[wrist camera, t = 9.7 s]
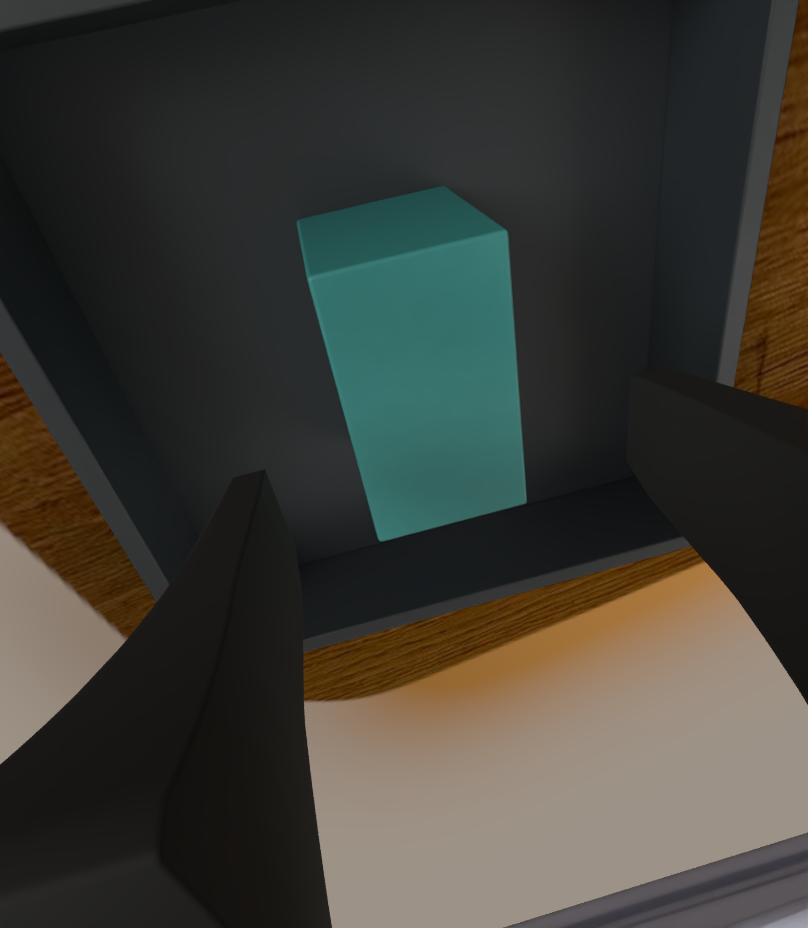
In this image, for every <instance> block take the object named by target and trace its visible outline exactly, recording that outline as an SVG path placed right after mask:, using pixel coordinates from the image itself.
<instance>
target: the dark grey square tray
mask: <svg viewBox="0 0 808 928" xmlns="http://www.w3.org/2000/svg"><path fill="white" fill-rule="evenodd" d="M798 4H799V0H0V352H1V354H2V355H3V357H4V359H5V360H6V362H7V363H8V365H9V367H10V368H11V370H12V371H13V373H14V375H15V376H16V378H17V379H18V381H19V383H20V384H21V386H22V387H23V389H24V391H25V392H26V394H27V395H28V397H29V399H30V400H31V402H32V403H33V405H34V407H35V408H36V410H37V411H38V413H39V415H40V416H41V418H42V419H43V421H44V423H45V424H46V426H47V427H48V429H49V431H50V432H51V434H52V436H53V437H54V439H55V440H56V442H57V444H58V445H59V447H60V448H61V450H62V452H63V453H64V455H65V456H66V458H67V460H68V461H69V463H70V464H71V466H72V468H73V469H74V471H75V472H76V474H77V476H78V477H79V479H80V480H81V482H82V484H83V485H84V487H85V488H86V490H87V492H88V493H89V495H90V496H91V498H92V500H93V501H94V503H95V504H96V506H97V508H98V509H99V511H100V512H101V514H102V516H103V517H104V519H105V520H106V522H107V524H108V525H109V527H110V528H111V530H112V532H113V533H114V535H115V537H116V538H117V540H118V541H119V543H120V545H121V546H122V548H123V549H124V551H125V553H126V554H127V556H128V557H129V559H130V561H131V562H132V564H133V565H134V567H135V569H136V570H137V572H138V573H139V575H140V577H141V578H142V580H143V581H144V583H145V585H146V586H147V588H148V589H149V591H150V593H151V594H152V596H153V597H154V599H155V601H156V602H157V601H158V600H159V599H160V597H161V596H162V595H163V593H164V592H165V590H166V589H167V587H168V586H169V584H170V583H171V581H172V580H173V578H174V577H175V575H176V574H177V572H178V571H179V569H180V568H181V566H182V565H183V563H184V562H185V560H186V559H187V557H188V555H189V554H190V552H191V550H192V549H193V547H194V545H195V544H196V542H197V540H198V538H199V537H200V535H201V533H202V532H203V530H204V528H205V527H206V525H207V523H208V521H209V519H210V518H211V516H212V514H213V512H214V510H215V509H216V507H217V505H218V503H219V501H220V499H221V498H222V496H223V494H224V492H225V490H226V489H227V487H228V485H229V483H230V482H231V480H232V479H233V477H237V476H241V475H245V474H249V473H253V472H257V471H260V470H264V469H265V470H266V473H267V475H268V478H269V480H270V483H271V486H272V488H273V491H274V493H275V496H276V498H277V501H278V504H279V506H280V509H281V511H282V514H283V517H284V519H285V522H286V524H287V527H288V529H289V532H290V535H291V537H292V540H293V542H294V545H295V547H296V553H297V559H298V566H299V573H300V580H301V588H302V601H303V652H307V651H310V650H314V649H318V648H321V647H325V646H329V645H332V644H336V643H340V642H343V641H347V640H351V639H354V638H358V637H362V636H365V635H369V634H373V633H376V632H380V631H384V630H387V629H391V628H394V627H398V626H402V625H405V624H409V623H413V622H416V621H420V620H424V619H427V618H431V617H435V616H438V615H442V614H446V613H449V612H453V611H457V610H460V609H464V608H468V607H471V606H475V605H479V604H482V603H486V602H490V601H493V600H497V599H500V598H504V597H508V596H511V595H515V594H519V593H522V592H526V591H530V590H533V589H537V588H541V587H544V586H548V585H552V584H555V583H559V582H563V581H566V580H570V579H574V578H577V577H581V576H585V575H588V574H592V573H596V572H599V571H603V570H606V569H610V568H614V567H617V566H621V565H625V564H628V563H632V562H636V561H639V560H643V559H647V558H650V557H654V556H658V555H661V554H665V553H669V552H672V551H676V550H680V549H683V548H687V547H690V546H691V545H690V544H689V543H688V541H687V540H686V539H685V538H684V537H683V536H682V535H681V534H680V532H679V531H678V530H677V529H676V528H675V527H674V526H673V524H672V523H671V522H670V521H669V520H668V519H667V517H666V516H665V515H664V514H663V513H662V512H661V510H660V509H659V508H658V507H657V506H656V504H655V503H654V502H653V501H652V500H651V498H650V497H649V495H648V494H647V492H646V491H645V489H644V488H643V486H642V485H641V483H640V482H639V480H638V479H637V477H636V475H635V474H634V472H633V470H632V469H631V467H630V465H629V464H628V462H627V461H626V457H627V439H628V421H629V402H630V384H631V375H633V374H637V373H640V372H644V371H648V370H652V369H656V368H660V367H662V368H667V369H672V370H676V371H680V372H684V373H687V374H691V375H694V376H698V377H701V378H704V379H708V380H711V381H714V382H717V383H721V384H724V385H727V386H730V387H733V388H734V382H735V376H736V370H737V364H738V358H739V352H740V346H741V340H742V334H743V329H744V323H745V317H746V311H747V305H748V299H749V293H750V287H751V281H752V276H753V270H754V264H755V258H756V252H757V246H758V240H759V234H760V228H761V222H762V217H763V211H764V205H765V199H766V193H767V187H768V181H769V175H770V169H771V164H772V158H773V152H774V146H775V140H776V134H777V128H778V122H779V116H780V110H781V105H782V99H783V93H784V87H785V81H786V75H787V69H788V63H789V57H790V52H791V46H792V40H793V34H794V28H795V22H796V16H797V10H798ZM440 186H446V187H447V188H449V189H450V190H451V191H453V192H454V193H456V194H457V195H459V196H460V197H461V198H463V199H464V200H466V201H467V202H468V203H470V204H471V205H473V206H474V207H475V208H477V209H478V210H480V211H481V212H483V213H484V214H485V215H487V216H488V217H490V218H491V219H492V220H494V221H495V222H497V223H498V224H499V225H501V226H502V227H504V228H505V229H507V231H508V238H509V252H510V266H511V281H512V295H513V309H514V324H515V338H516V352H517V367H518V381H519V395H520V410H521V424H522V438H523V453H524V467H525V481H526V496H527V502H526V503H525V504H522V505H518V506H514V507H511V508H507V509H503V510H499V511H496V512H492V513H488V514H484V515H480V516H477V517H473V518H469V519H465V520H462V521H458V522H454V523H450V524H446V525H443V526H439V527H435V528H431V529H428V530H424V531H420V532H416V533H413V534H409V535H405V536H401V537H397V538H394V539H390V540H386V541H380V540H379V539H378V537H377V533H376V530H375V526H374V522H373V519H372V515H371V511H370V508H369V504H368V500H367V497H366V493H365V489H364V486H363V482H362V478H361V475H360V471H359V467H358V464H357V460H356V456H355V453H354V449H353V445H352V442H351V438H350V434H349V431H348V427H347V423H346V420H345V416H344V413H343V409H342V405H341V402H340V398H339V394H338V391H337V387H336V383H335V380H334V376H333V372H332V369H331V365H330V361H329V358H328V354H327V350H326V347H325V343H324V339H323V336H322V332H321V328H320V325H319V321H318V317H317V314H316V310H315V306H314V303H313V299H312V295H311V292H310V288H309V284H308V281H307V276H306V270H305V265H304V260H303V255H302V249H301V244H300V239H299V234H298V228H297V221H298V220H299V219H302V218H307V217H311V216H315V215H320V214H324V213H328V212H332V211H337V210H341V209H345V208H350V207H354V206H358V205H363V204H367V203H371V202H375V201H380V200H384V199H388V198H393V197H397V196H401V195H406V194H410V193H414V192H418V191H423V190H427V189H431V188H436V187H440Z"/></svg>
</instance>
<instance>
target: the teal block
mask: <svg viewBox="0 0 808 928" xmlns="http://www.w3.org/2000/svg"><path fill="white" fill-rule="evenodd" d="M297 228H298V234H299V239H300V244H301V249H302V255H303V260H304V265H305V270H306V276H307V281H308V284H309V288H310V292H311V295H312V299H313V303H314V306H315V310H316V314H317V317H318V321H319V325H320V328H321V332H322V336H323V339H324V343H325V347H326V350H327V354H328V358H329V361H330V365H331V369H332V372H333V376H334V380H335V383H336V387H337V391H338V394H339V398H340V402H341V405H342V409H343V413H344V416H345V420H346V423H347V427H348V431H349V434H350V438H351V442H352V445H353V449H354V453H355V456H356V460H357V464H358V467H359V471H360V475H361V478H362V482H363V486H364V489H365V493H366V497H367V500H368V504H369V508H370V511H371V515H372V519H373V522H374V526H375V530H376V533H377V537H378V539H379V540H380V541H386V540H390V539H394V538H397V537H401V536H405V535H409V534H413V533H416V532H420V531H424V530H428V529H431V528H435V527H439V526H443V525H446V524H450V523H454V522H458V521H462V520H465V519H469V518H473V517H477V516H480V515H484V514H488V513H492V512H496V511H499V510H503V509H507V508H511V507H514V506H518V505H522V504H525V503H526V502H527V496H526V481H525V467H524V453H523V438H522V424H521V410H520V395H519V381H518V367H517V352H516V338H515V324H514V309H513V295H512V281H511V266H510V252H509V238H508V231H507V229H505V228H504V227H502V226H501V225H499V224H498V223H497V222H495V221H494V220H492V219H491V218H490V217H488V216H487V215H485V214H484V213H483V212H481V211H480V210H478V209H477V208H475V207H474V206H473V205H471V204H470V203H468V202H467V201H466V200H464V199H463V198H461V197H460V196H459V195H457V194H456V193H454V192H453V191H451V190H450V189H449V188H447V187H446V186H440V187H436V188H431V189H427V190H423V191H418V192H414V193H410V194H406V195H401V196H397V197H393V198H388V199H384V200H380V201H375V202H371V203H367V204H363V205H358V206H354V207H350V208H345V209H341V210H337V211H332V212H328V213H324V214H320V215H315V216H311V217H307V218H302V219H299V220H298V221H297Z"/></svg>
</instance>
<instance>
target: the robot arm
mask: <svg viewBox="0 0 808 928" xmlns="http://www.w3.org/2000/svg"><path fill="white" fill-rule="evenodd" d="M626 461H627V462H628V464H629V465H630V467H631V469H632V470H633V472H634V474H635V475H636V477H637V479H638V480H639V482H640V483H641V485H642V486H643V488H644V489H645V491H646V492H647V494H648V495H649V497H650V498H651V500H652V501H653V502H654V503H655V504H656V506H657V507H658V508H659V509H660V510H661V512H662V513H663V514H664V515H665V516H666V517H667V519H668V520H669V521H670V522H671V523H672V524H673V526H674V527H675V528H676V529H677V530H678V531H679V532H680V534H681V535H682V536H683V537H684V538H685V539H686V540H687V541H688V543H689V544H690V545H691V546H692V547H693V548H694V549H695V551H696V552H697V553H698V554H699V555H700V556H701V557H702V558H703V560H704V561H705V562H706V563H707V564H708V565H709V566H710V568H711V569H712V570H713V571H714V572H715V573H716V574H717V575H718V577H719V578H720V579H721V580H722V581H723V582H724V584H725V585H726V586H727V587H728V589H729V590H730V591H731V592H732V593H733V595H734V596H735V597H736V599H737V600H738V601H739V603H740V604H741V605H742V607H743V608H744V610H745V611H746V612H747V614H748V615H749V617H750V618H751V619H752V621H753V622H754V624H755V625H756V627H757V628H758V629H759V631H760V632H761V634H762V635H763V636H764V638H765V640H766V641H767V642H768V644H769V645H770V647H771V648H772V650H773V651H774V653H775V654H776V656H777V657H778V659H779V661H780V662H781V664H782V665H783V667H784V668H785V670H786V671H787V673H788V674H789V676H790V677H791V679H792V680H793V682H794V683H795V685H796V686H797V688H798V689H799V691H800V693H801V694H802V696H803V698H804V699H805V701H806V703H807V704H808V409H805V408H801V407H797V406H794V405H790V404H787V403H783V402H780V401H776V400H773V399H770V398H766V397H763V396H759V395H756V394H753V393H750V392H746V391H743V390H740V389H737V388H733V387H730V386H727V385H724V384H721V383H717V382H714V381H711V380H708V379H704V378H701V377H698V376H694V375H691V374H687V373H684V372H680V371H676V370H672V369H667V368H662V367H660V368H656V369H652V370H648V371H644V372H640V373H637V374H633V375H631V384H630V402H629V421H628V439H627V457H626ZM0 928H332V925H331V919H330V912H329V906H328V899H327V892H326V885H325V879H324V871H323V864H322V857H321V850H320V843H319V836H318V828H317V820H316V812H315V805H314V797H313V789H312V781H311V773H310V764H309V755H308V747H307V737H306V730H305V716H304V686H303V601H302V588H301V580H300V573H299V566H298V559H297V553H296V547H295V545H294V542H293V540H292V537H291V535H290V532H289V529H288V527H287V524H286V522H285V519H284V517H283V514H282V511H281V509H280V506H279V504H278V501H277V498H276V496H275V493H274V491H273V488H272V486H271V483H270V480H269V478H268V475H267V473H266V470H265V469H264V470H260V471H257V472H253V473H249V474H245V475H241V476H237V477H233V479H232V480H231V482H230V483H229V485H228V487H227V489H226V490H225V492H224V494H223V496H222V498H221V499H220V501H219V503H218V505H217V507H216V509H215V510H214V512H213V514H212V516H211V518H210V519H209V521H208V523H207V525H206V527H205V528H204V530H203V532H202V533H201V535H200V537H199V538H198V540H197V542H196V544H195V545H194V547H193V549H192V550H191V552H190V554H189V555H188V557H187V559H186V560H185V562H184V563H183V565H182V566H181V568H180V569H179V571H178V572H177V574H176V575H175V577H174V578H173V580H172V581H171V583H170V584H169V586H168V587H167V589H166V590H165V592H164V593H163V595H162V596H161V597H160V599H159V600H158V601H157V603H156V604H155V605H154V607H153V608H152V609H151V611H150V612H149V613H148V615H147V616H146V617H145V618H144V620H143V621H142V622H141V623H140V624H139V626H138V627H137V628H136V629H135V631H134V632H133V633H132V634H131V635H130V637H129V638H128V639H127V640H126V641H125V643H124V644H123V645H122V646H121V647H120V648H119V650H118V651H117V652H116V653H115V654H114V655H113V656H112V657H111V658H110V659H109V660H108V661H107V662H106V663H105V664H104V666H103V667H102V668H101V669H100V670H99V671H98V672H97V673H96V674H95V675H94V676H93V677H92V678H91V679H90V681H89V682H88V683H87V684H86V685H85V686H84V687H83V688H82V689H81V690H80V691H79V692H78V694H76V695H75V696H74V697H73V698H72V699H71V700H70V701H69V702H68V703H67V704H66V705H65V706H64V707H63V708H62V709H61V710H60V711H59V712H58V713H57V714H56V715H55V716H54V717H53V718H51V719H50V720H49V721H48V722H47V723H46V724H45V725H44V726H43V727H42V728H41V729H40V730H39V731H38V732H36V733H35V734H34V735H33V736H32V737H31V738H30V739H29V740H28V741H26V743H24V744H23V745H22V746H21V747H20V748H19V749H18V750H16V751H15V752H14V753H13V754H12V755H11V756H10V757H8V759H6V760H5V761H4V762H3V763H1V764H0ZM504 928H808V833H805V834H802V835H799V836H796V837H793V838H790V839H786V840H783V841H780V842H777V843H774V844H770V845H767V846H764V847H760V848H758V849H754V850H751V851H748V852H745V853H741V854H738V855H735V856H732V857H728V858H725V859H722V860H719V861H716V862H713V863H709V864H706V865H703V866H700V867H696V868H693V869H690V870H687V871H684V872H680V873H677V874H674V875H671V876H668V877H664V878H661V879H658V880H655V881H652V882H648V883H645V884H642V885H639V886H636V887H632V888H629V889H626V890H623V891H620V892H616V893H613V894H610V895H607V896H604V897H601V898H597V899H594V900H591V901H588V902H584V903H581V904H578V905H575V906H572V907H568V908H565V909H562V910H559V911H556V912H552V913H549V914H546V915H543V916H540V917H537V918H533V919H530V920H527V921H524V922H520V923H517V924H514V925H511V926H508V927H504Z"/></svg>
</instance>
